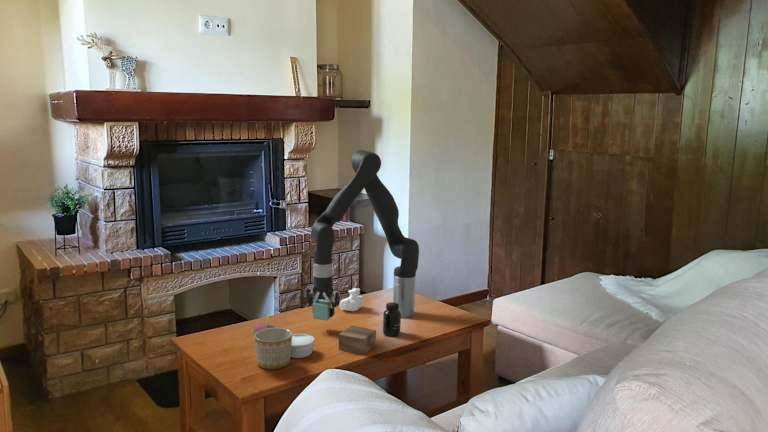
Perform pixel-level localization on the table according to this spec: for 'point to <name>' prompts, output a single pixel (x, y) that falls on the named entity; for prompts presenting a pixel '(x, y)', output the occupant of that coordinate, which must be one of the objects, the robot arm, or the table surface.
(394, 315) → the supplement bottle
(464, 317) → the table surface
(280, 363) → the planter
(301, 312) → the table surface
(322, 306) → the teal cube
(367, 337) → the walnut block
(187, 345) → the table surface
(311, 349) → the ramekin
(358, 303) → the duck figurine
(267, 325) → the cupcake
